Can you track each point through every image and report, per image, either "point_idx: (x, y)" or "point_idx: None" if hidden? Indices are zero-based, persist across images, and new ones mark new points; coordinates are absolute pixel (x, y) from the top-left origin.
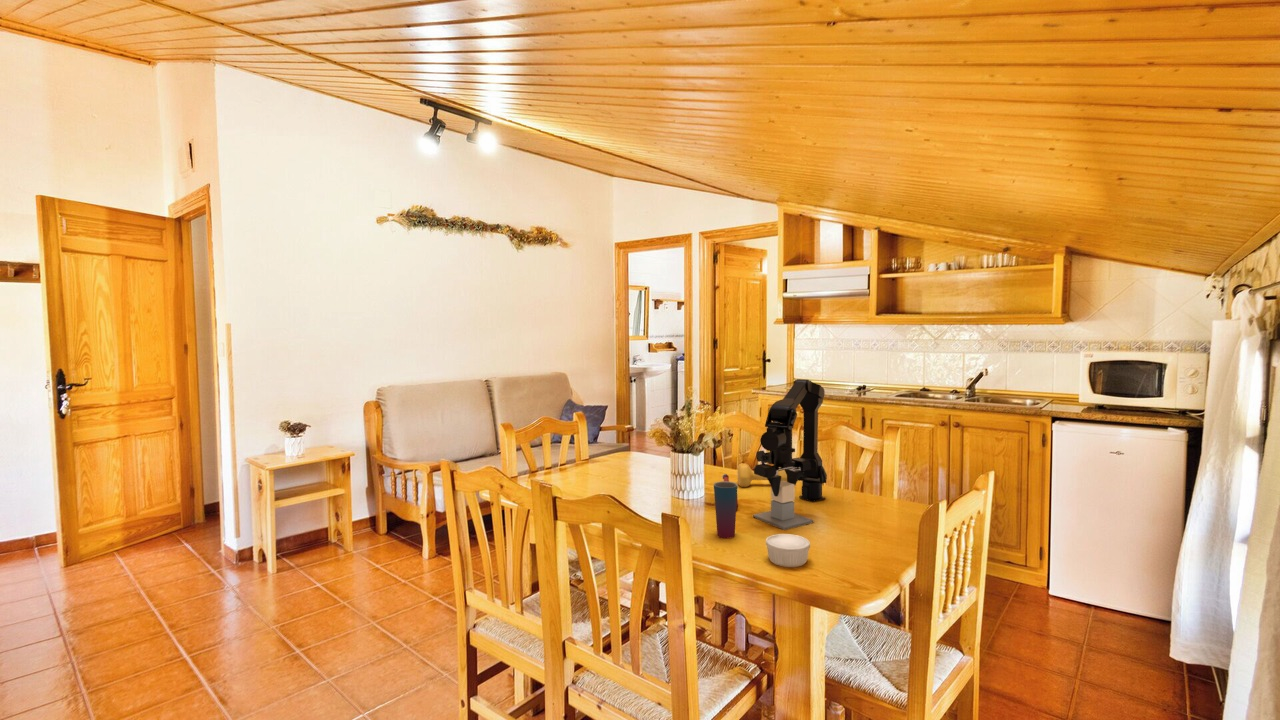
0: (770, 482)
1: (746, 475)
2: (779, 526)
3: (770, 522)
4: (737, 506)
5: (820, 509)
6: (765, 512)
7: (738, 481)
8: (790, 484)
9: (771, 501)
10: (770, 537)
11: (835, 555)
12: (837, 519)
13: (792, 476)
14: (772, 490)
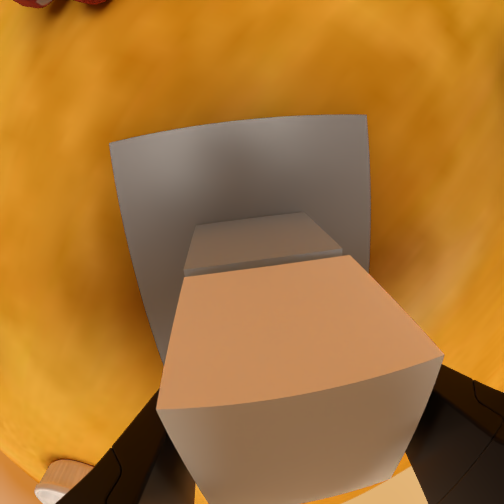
0: (94, 490)
1: None
2: (161, 356)
3: (143, 299)
4: (92, 2)
5: (497, 212)
6: (213, 134)
7: None
8: (362, 479)
9: (186, 272)
10: (47, 490)
11: (206, 501)
12: (448, 338)
13: (456, 502)
14: (146, 404)
